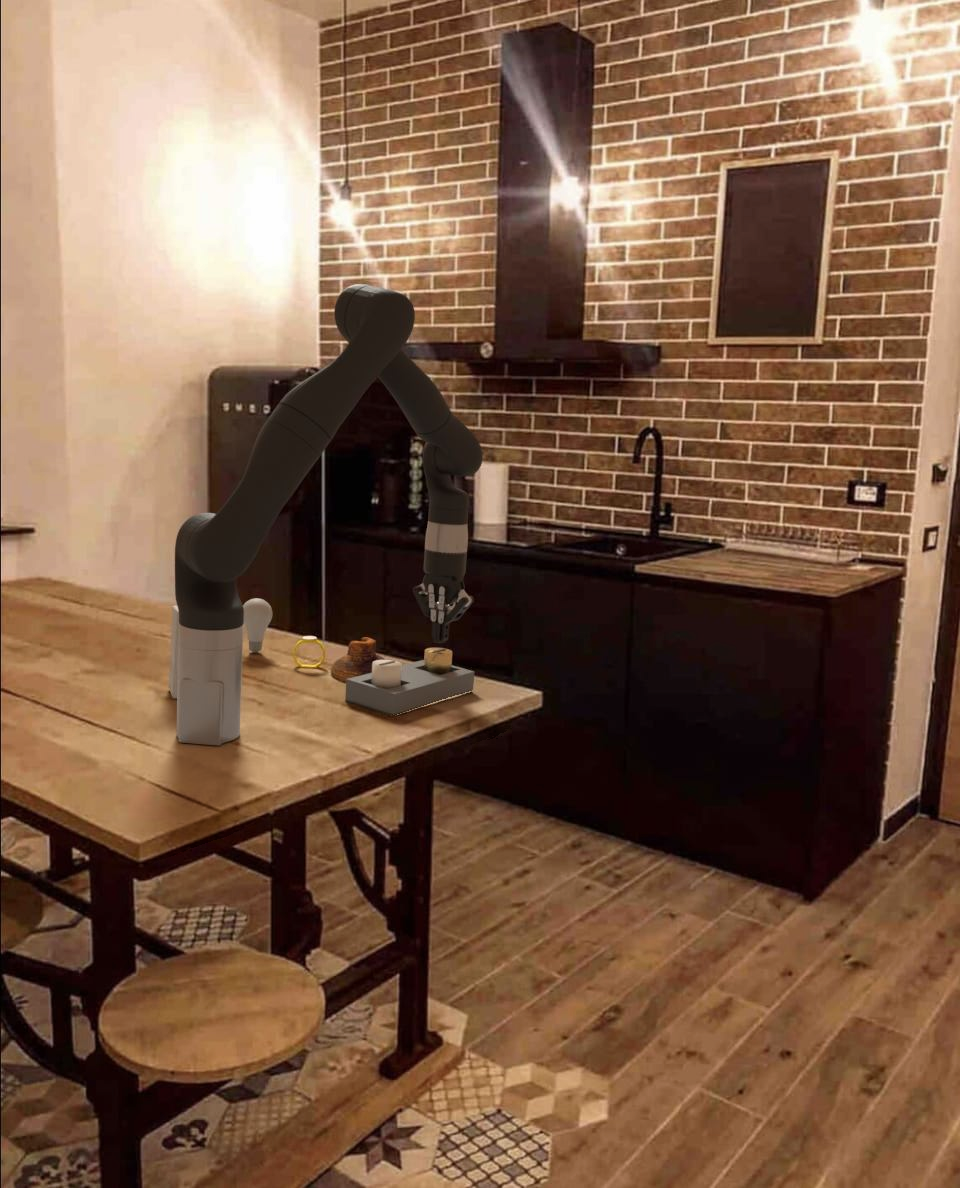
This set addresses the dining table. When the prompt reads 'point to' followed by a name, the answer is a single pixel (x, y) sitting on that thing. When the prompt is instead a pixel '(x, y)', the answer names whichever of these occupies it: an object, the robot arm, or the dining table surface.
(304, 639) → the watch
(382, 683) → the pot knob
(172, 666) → the skincare box
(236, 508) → the robot arm
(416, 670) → the knob mount
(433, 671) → the brass knob
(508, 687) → the dining table surface
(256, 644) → the lightbulb
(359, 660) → the broken clay vessel
